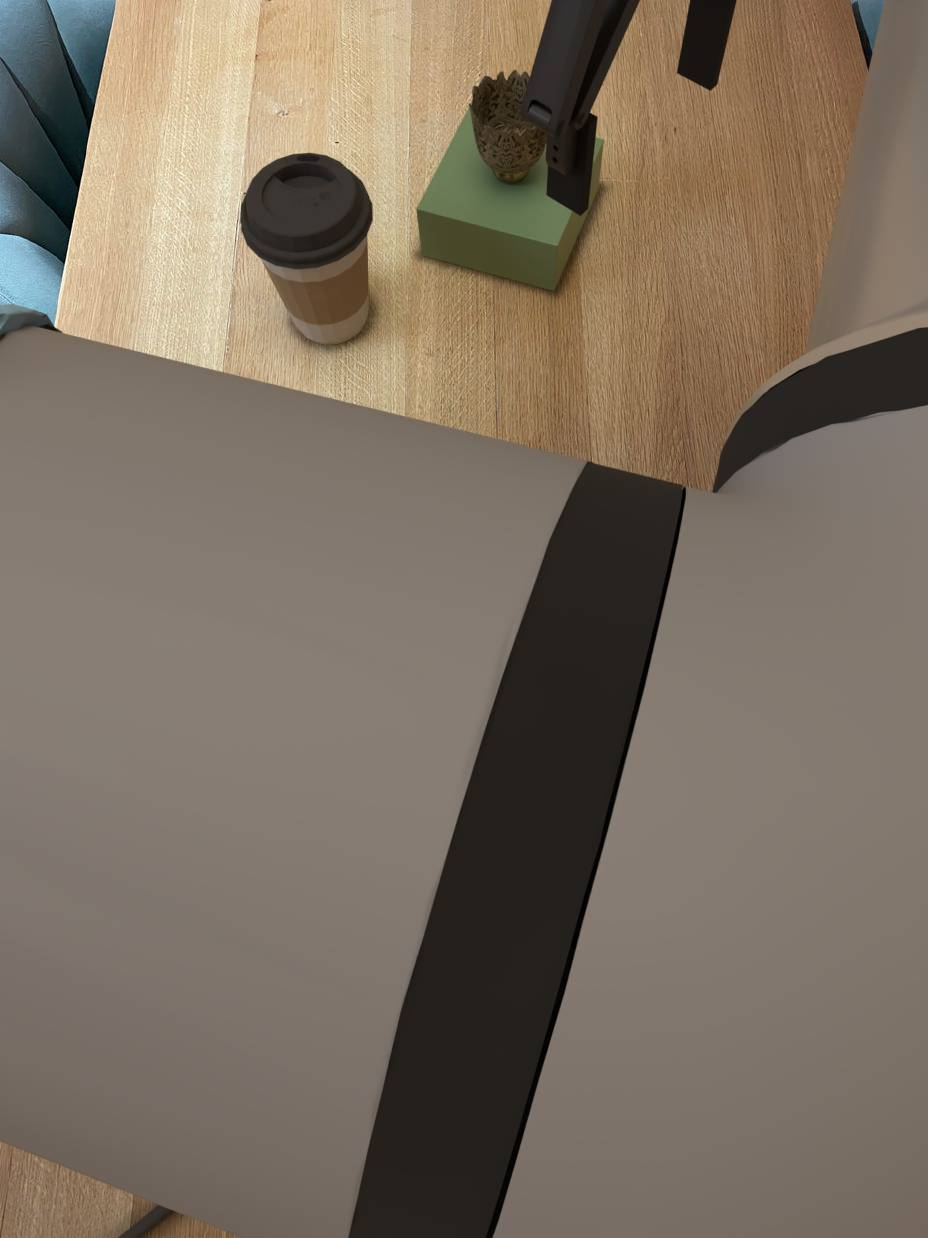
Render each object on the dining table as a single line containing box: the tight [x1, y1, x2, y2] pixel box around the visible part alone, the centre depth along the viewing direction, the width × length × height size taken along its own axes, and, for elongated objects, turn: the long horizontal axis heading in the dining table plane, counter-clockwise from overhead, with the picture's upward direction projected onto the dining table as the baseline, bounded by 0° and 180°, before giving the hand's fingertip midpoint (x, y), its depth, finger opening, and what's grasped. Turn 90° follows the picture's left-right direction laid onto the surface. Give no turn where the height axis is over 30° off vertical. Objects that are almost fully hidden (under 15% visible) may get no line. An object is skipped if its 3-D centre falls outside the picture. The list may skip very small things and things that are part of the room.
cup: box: [468, 69, 547, 184], centre depth 86 cm, size 8×7×8 cm
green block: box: [415, 107, 605, 292], centre depth 92 cm, size 14×14×6 cm
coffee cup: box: [239, 152, 374, 346], centre depth 85 cm, size 11×11×15 cm
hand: (633, 139), depth 60 cm, fingers open, 13 cm apart
